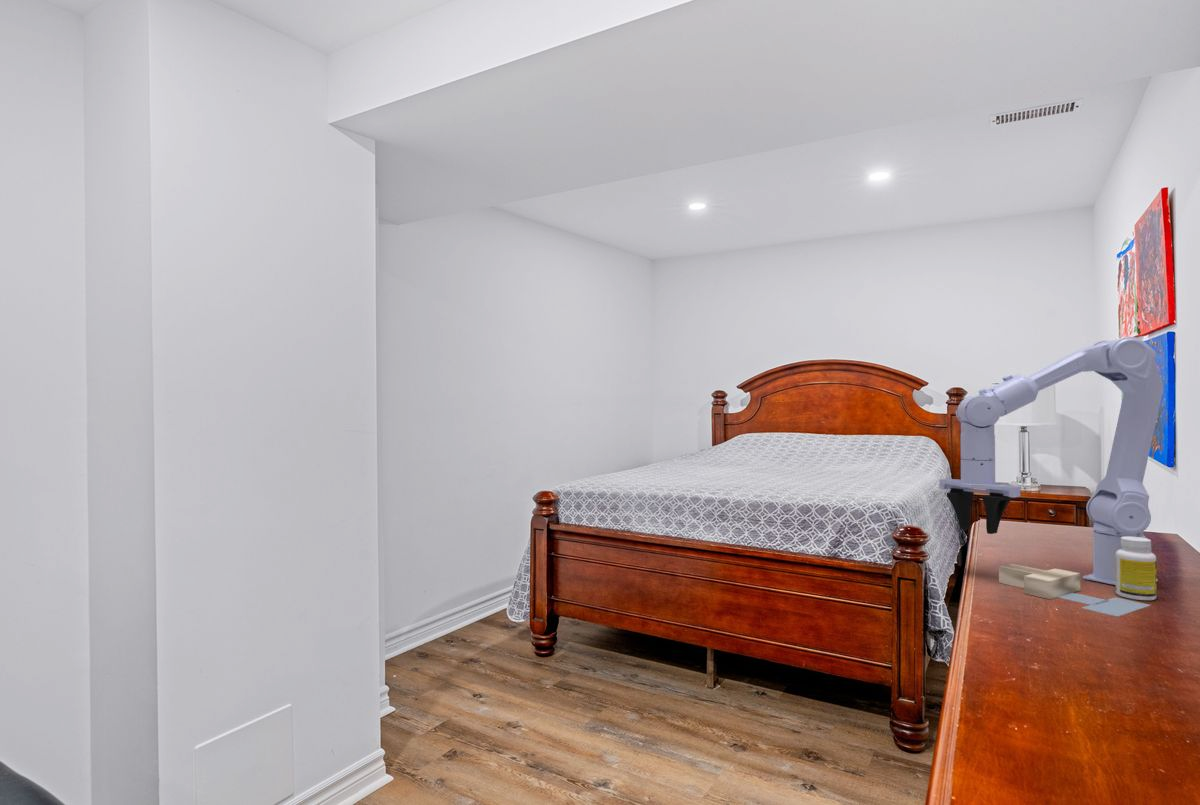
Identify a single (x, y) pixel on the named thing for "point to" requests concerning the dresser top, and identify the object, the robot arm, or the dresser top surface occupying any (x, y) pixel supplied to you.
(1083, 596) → the slate t outline
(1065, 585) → the maple t block
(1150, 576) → the supplement bottle
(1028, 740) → the dresser top surface
